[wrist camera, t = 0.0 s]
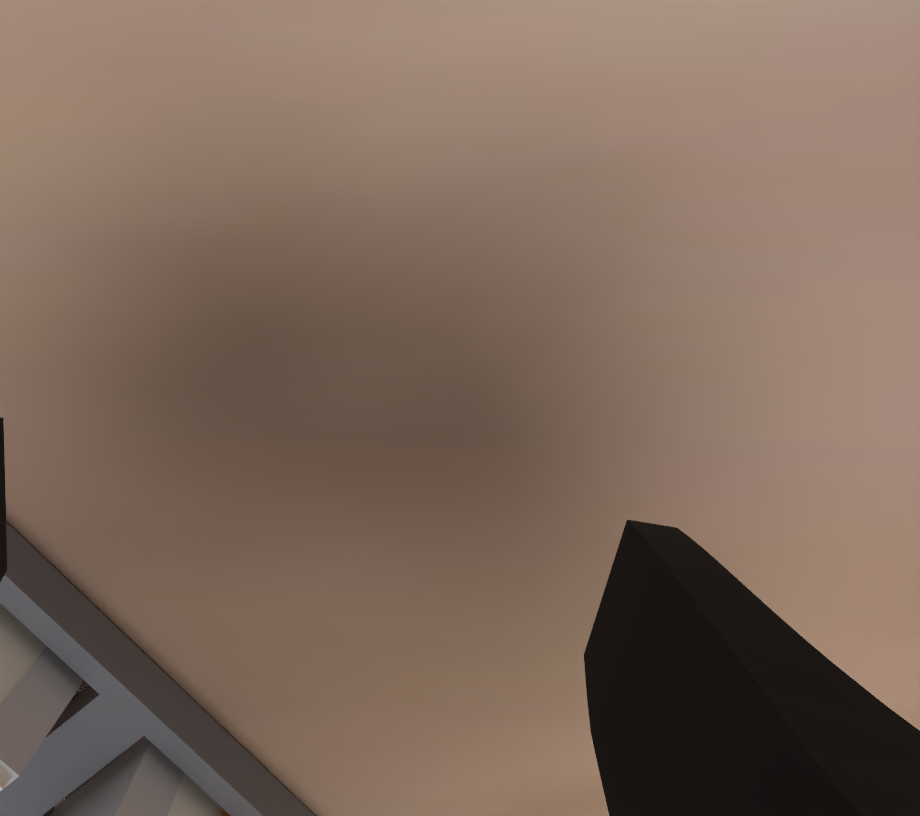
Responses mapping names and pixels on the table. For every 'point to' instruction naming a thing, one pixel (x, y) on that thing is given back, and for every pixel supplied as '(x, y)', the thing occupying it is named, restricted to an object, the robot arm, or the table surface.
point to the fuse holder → (118, 705)
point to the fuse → (28, 694)
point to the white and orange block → (140, 789)
